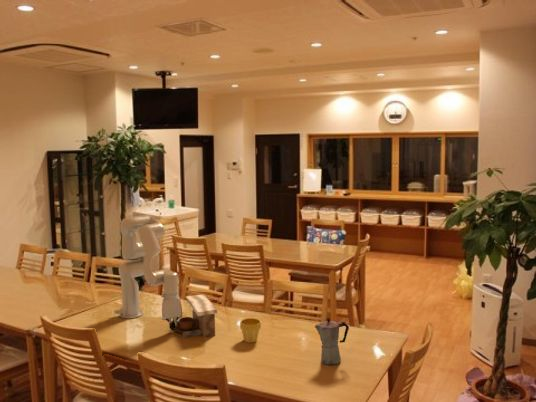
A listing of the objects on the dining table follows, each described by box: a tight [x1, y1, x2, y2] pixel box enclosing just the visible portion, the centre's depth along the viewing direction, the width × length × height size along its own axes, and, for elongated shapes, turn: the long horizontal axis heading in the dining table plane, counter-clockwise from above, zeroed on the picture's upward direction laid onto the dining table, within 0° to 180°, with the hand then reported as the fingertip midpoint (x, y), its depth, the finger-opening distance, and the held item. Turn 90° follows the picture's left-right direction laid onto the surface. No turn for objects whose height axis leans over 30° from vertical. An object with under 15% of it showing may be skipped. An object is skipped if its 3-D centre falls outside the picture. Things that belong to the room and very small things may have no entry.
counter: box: [175, 294, 218, 338], centre depth 269 cm, size 17×28×14 cm, turn 21°
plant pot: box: [239, 317, 262, 344], centre depth 253 cm, size 10×10×10 cm
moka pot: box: [314, 318, 350, 366], centre depth 227 cm, size 10×15×20 cm, turn 95°
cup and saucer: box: [174, 316, 198, 334], centre depth 268 cm, size 12×12×6 cm
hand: (172, 329), depth 265 cm, fingers closed
